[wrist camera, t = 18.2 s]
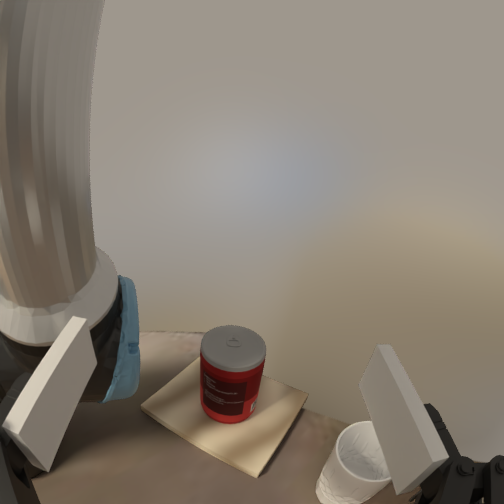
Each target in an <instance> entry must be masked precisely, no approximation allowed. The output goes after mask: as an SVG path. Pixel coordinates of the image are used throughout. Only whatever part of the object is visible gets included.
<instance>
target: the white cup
mask: <svg viewBox="0 0 504 504" xmlns="http://www.w3.org/2000/svg"><path fill="white" fill-rule="evenodd" d="M391 481H392V479H391V476H390V473H389V470H388V467H387V464H386V461H385V458H384V455H383V452H382V449H381V446H380V444H379V441H378V438H377V435H376V432H375V429H374V427H373V424H372V421H362V422H357V423H354V424H352V425H350V426H348V427H347V428H345V429H344V430H343V431H342V432H341V434H340V435H339V437H338V439H337V441H336V443H335V445H334V447H333V449H332V451H331V453H330V455H329V457H328V459H327V461H326V463H325V465H324V467H323V469H322V472H321V475H320V477H319V479H318V480H317V483H316V494H317V496H318V499H319V501H320V502H321V503H322V504H362V503H364V502H365V501H367V500H368V499H370V498H371V497H372V496H374V495H375V494H376V493H377V492H379V491H380V490H381V489H383V488H384V487H385V486H386V485H387V484H388V483H389V482H391Z"/></svg>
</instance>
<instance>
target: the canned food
mask: <svg viewBox="0 0 504 504" xmlns="http://www.w3.org/2000/svg"><path fill="white" fill-rule="evenodd" d="M265 356H266V345H265V342H264V341H263V339H262V338H261V337H260V336H259V335H258V334H257V333H255V332H254V331H252V330H250V329H247V328H245V327H240V326H233V325H228V326H227V325H226V326H220V327H216V328H214V329H212V330H210V331H208V332H207V333H206V334H205V335H204V337H203V339H202V342H201V349H200V401H201V405H202V408H203V410H204V411H205V413H206V414H207V415H208V416H209V417H210V418H211V419H213V420H215V421H217V422H219V423H223V424H236V423H240V422H242V421H244V420H246V419H247V418H248V417H249V416H250V415H251V414H252V413H253V411H254V410H255V407H256V403H257V398H258V393H259V388H260V383H261V378H262V373H263V368H264V362H265Z"/></svg>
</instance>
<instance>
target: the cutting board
mask: <svg viewBox="0 0 504 504" xmlns="http://www.w3.org/2000/svg"><path fill="white" fill-rule="evenodd" d="M307 397H308V393H305V392H302V391H300V390H297V389H295V388H293V387H290V386H287V385H285V384H282V383H280V382H278V381H275V380H273V379H271V378H268V377H266V376H264V375H262V378H261V383H260V388H259V393H258V398H257V403H256V407H255V410H254V411H253V413H252V414H251V415H250V416H249V417H248V418H247V419H246V420H244V421H242V422H240V423H236V424H223V423H219V422H217V421H215V420H213V419H211V418H210V417H209V416H208V415H207V414H206V413H205V411H204V410H203V408H202V405H201V401H200V356H199V357H198V358H197V359H196V360H195V361H194V362H192V363H191V364H190V365H189V366H188V367H186V368H185V369H184V370H183V371H182V372H180V373H179V374H178V375H177V376H176V377H174V378H173V379H172V380H171V381H169V382H168V383H167V384H166V385H165V386H163V387H162V388H161V389H160V390H158V391H157V392H156V393H155V394H153V395H152V396H151V397H150V398H149V399H147V400H146V401H145V402H144V403H142V404H141V405H140V406H141V410H142V411H143V412H145V413H146V414H147V415H149V416H150V417H152V418H153V419H155V420H156V421H157V422H159V423H160V424H162V425H163V426H165V427H166V428H168V429H169V430H171V431H172V432H174V433H176V434H177V435H179V436H180V437H182V438H183V439H185V440H187V441H188V442H190V443H192V444H193V445H195V446H197V447H198V448H200V449H202V450H204V451H205V452H207V453H209V454H211V455H212V456H214V457H216V458H218V459H220V460H221V461H223V462H225V463H227V464H229V465H231V466H233V467H235V468H237V469H239V470H241V471H243V472H245V473H247V474H249V475H251V476H253V477H255V478H257V477H258V476H259V475H260V473H261V472H262V470H263V469H264V467H265V466H266V464H267V463H268V461H269V460H270V458H271V457H272V455H273V454H274V452H275V451H276V449H277V448H278V446H279V444H280V443H281V441H282V440H283V438H284V437H285V435H286V433H287V432H288V430H289V428H290V427H291V425H292V424H293V422H294V420H295V419H296V417H297V415H298V414H299V412H300V410H301V408H302V407H303V405H304V403H305V401H306V400H307Z"/></svg>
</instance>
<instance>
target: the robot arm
mask: <svg viewBox="0 0 504 504" xmlns="http://www.w3.org/2000/svg"><path fill="white" fill-rule="evenodd" d="M104 2H105V0H0V504H40V501H39V499H38V496H37V494H36V491H35V489H34V486H33V483H32V481H31V478H32V477H34V476H36V475H38V474H39V473H41V472H42V471H43V470H44V471H47V472H49V470H50V468H51V465H52V463H53V460H54V458H55V455H56V453H57V450H58V448H59V445H60V443H61V441H62V438H63V436H64V433H65V431H66V429H67V427H68V424H69V422H70V420H71V417H72V415H73V413H74V411H75V409H76V406H77V404H78V402H98V403H106V402H108V401H111V400H119V399H126V398H129V397H131V396H132V395H133V394H134V393H135V392H136V391H137V389H138V386H139V380H140V350H139V346H138V345H139V318H138V305H137V296H136V289H135V286H134V283H133V281H132V280H131V279H129V278H127V277H122V276H121V275H119V276H118V275H117V272H116V269H115V266H114V263H113V262H112V260H111V259H110V258H109V256H108V255H107V254H106V253H105V252H104V251H102V250H101V249H99V248H98V247H96V246H95V242H94V231H93V221H92V207H91V191H90V157H89V156H90V153H89V151H90V150H89V149H90V147H89V146H90V143H89V142H90V109H91V94H92V82H93V81H92V80H93V72H94V62H95V54H96V47H97V39H98V34H99V28H100V22H101V16H102V11H103V7H104ZM358 386H359V389H360V391H361V394H362V396H363V399H364V402H365V405H366V407H367V410H368V413H369V415H370V418H371V421H372V424H373V427H374V429H375V432H376V435H377V438H378V441H379V444H380V446H381V449H382V452H383V455H384V458H385V461H386V464H387V467H388V470H389V473H390V476H391V479H392V482H393V485H394V489H395V492H396V495H399V494H403V493H407V492H410V491H413V490H414V489H415V488H416V487H417V486H419V485H420V486H421V490H420V491H419V492H418V493H417V494H415V495H414V496H413V497H412V498H411V499H410V500H409V502H412V501H413V500H414V499H415V498H416V500H415V502H414V504H504V456H501V455H498V456H495V457H494V458H493V459H492V460H491V461H490V462H488V463H474V462H473V461H472V460H471V459H470V458H468V457H464V456H461V455H460V454H459V452H458V450H457V447H456V445H455V444H454V442H453V439H452V437H451V435H450V434H449V432H448V430H447V429H446V426H445V424H444V422H442V418H441V416H440V414H439V412H438V411H437V410H436V409H435V408H434V407H433V406H432V405H431V404H430V403H429V404H423V403H422V401H421V399H420V397H419V395H418V393H417V392H416V390H415V388H414V386H413V384H412V382H411V380H410V378H409V377H408V375H407V373H406V371H405V369H404V368H403V366H402V364H401V362H400V360H399V359H398V357H397V355H396V353H395V352H394V350H393V348H392V346H391V345H390V344H377V345H376V347H375V349H374V352H373V354H372V356H371V359H370V361H369V363H368V365H367V367H366V370H365V372H364V374H363V376H362V379H361V380H360V382H359V384H358ZM483 497H484V499H483V503H482V498H483Z"/></svg>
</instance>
